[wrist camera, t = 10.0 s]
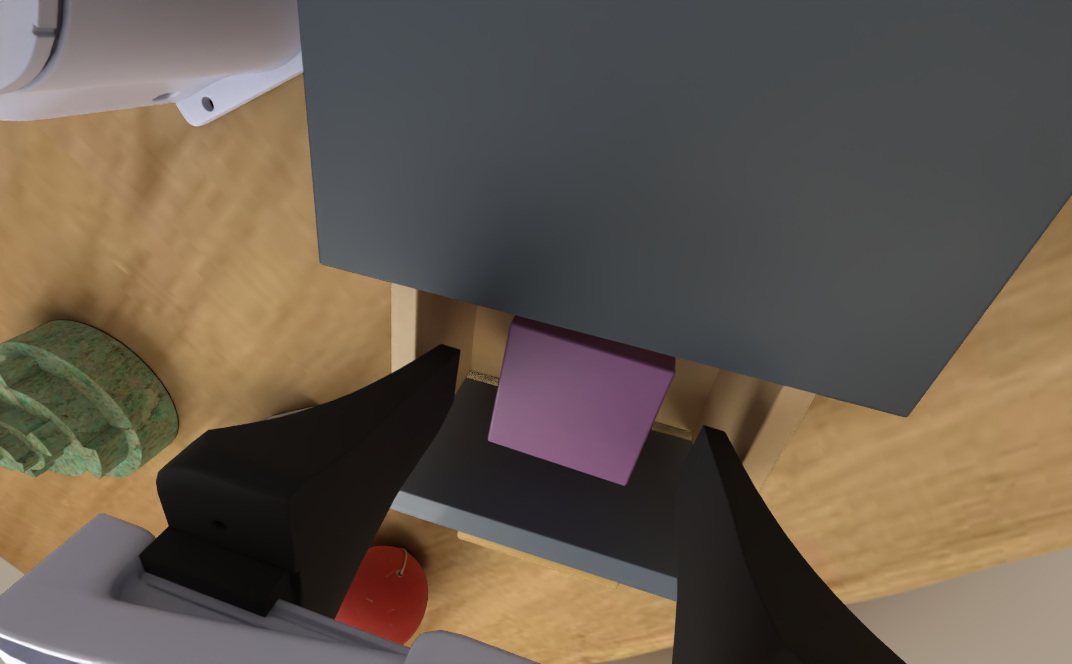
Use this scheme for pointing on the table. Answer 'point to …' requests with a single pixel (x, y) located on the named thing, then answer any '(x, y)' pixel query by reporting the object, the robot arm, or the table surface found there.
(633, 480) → the drawer
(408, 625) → the kendama
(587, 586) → the table surface
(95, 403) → the decorative artifact
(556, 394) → the block
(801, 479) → the table surface
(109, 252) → the table surface
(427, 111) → the cabinet
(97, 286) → the table surface
